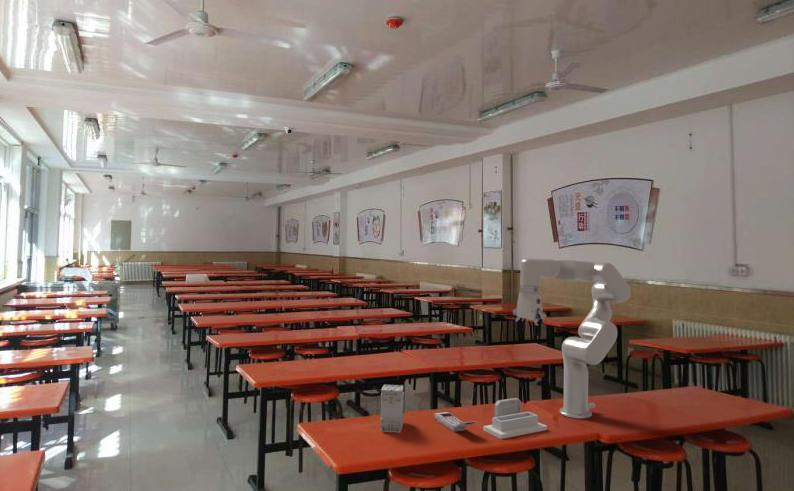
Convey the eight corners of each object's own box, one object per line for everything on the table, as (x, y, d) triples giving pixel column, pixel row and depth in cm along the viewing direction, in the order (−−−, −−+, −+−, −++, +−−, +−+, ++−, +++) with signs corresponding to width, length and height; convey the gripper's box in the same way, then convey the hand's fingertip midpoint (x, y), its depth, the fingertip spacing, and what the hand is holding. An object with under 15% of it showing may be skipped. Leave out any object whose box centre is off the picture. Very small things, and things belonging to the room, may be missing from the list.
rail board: (528, 421, 198) (528, 409, 198) (546, 429, 189) (546, 416, 189) (483, 430, 187) (483, 416, 187) (500, 439, 178) (501, 424, 179)
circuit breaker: (404, 419, 197) (404, 381, 198) (400, 432, 183) (401, 391, 184) (385, 418, 198) (385, 380, 198) (380, 431, 184) (381, 390, 184)
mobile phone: (463, 422, 178) (431, 403, 201) (462, 439, 178) (430, 417, 201) (478, 421, 180) (444, 401, 203) (477, 437, 180) (444, 416, 203)
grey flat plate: (494, 420, 199) (494, 400, 199) (518, 416, 204) (518, 397, 204) (497, 422, 197) (497, 401, 197) (521, 418, 203) (521, 398, 203)
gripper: (553, 291, 193) (551, 336, 193) (521, 288, 208) (520, 330, 208) (538, 291, 189) (537, 337, 189) (507, 288, 205) (506, 331, 204)
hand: (528, 333), depth 198 cm, fingers open, 9 cm apart
